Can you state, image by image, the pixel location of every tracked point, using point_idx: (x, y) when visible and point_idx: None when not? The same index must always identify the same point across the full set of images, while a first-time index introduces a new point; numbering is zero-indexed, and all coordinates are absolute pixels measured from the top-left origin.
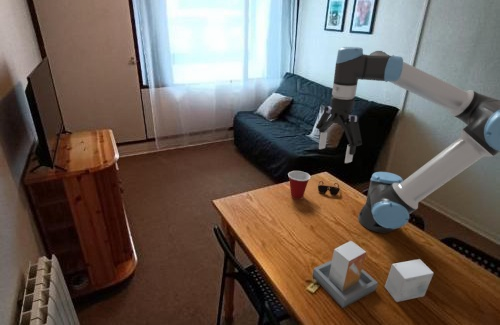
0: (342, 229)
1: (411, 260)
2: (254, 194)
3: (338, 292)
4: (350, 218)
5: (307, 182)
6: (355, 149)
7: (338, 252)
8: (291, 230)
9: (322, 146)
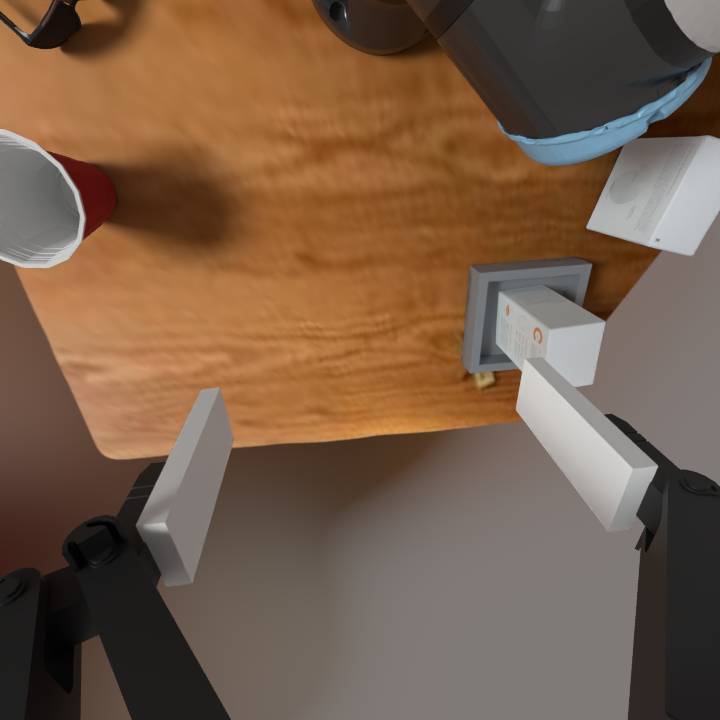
0: (359, 160)
1: (687, 172)
2: (55, 346)
3: None
4: (314, 66)
5: (71, 172)
6: (655, 449)
7: None
8: (297, 326)
9: (224, 432)
